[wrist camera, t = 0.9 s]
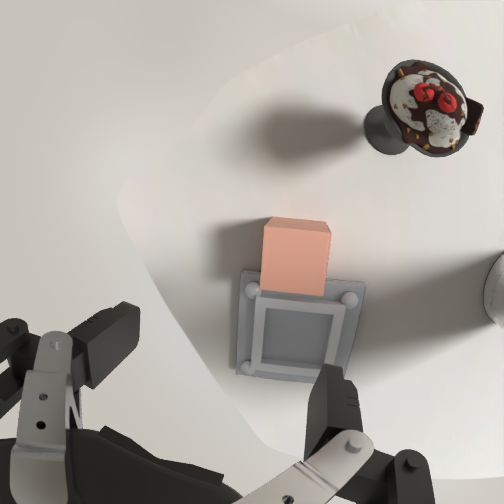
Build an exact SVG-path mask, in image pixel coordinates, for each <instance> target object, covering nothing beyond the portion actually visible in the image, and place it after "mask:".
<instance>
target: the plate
mask: <svg viewBox="0 0 504 504" xmlns="http://www.w3.org/2000/svg"><path fill="white" fill-rule="evenodd" d="M260 279H261V272H257V271H248V270H243V271H242V272H241V276H240V296H239V316H238V338H237V360H236V374H241V375H247V376H254V377H261V378H268V379H276V380H285V381H294V382H304V383H315V382H316V379H317V377H318V375H319V373H320V370H321V368H322V366H323V364H324V363H327V364H332V365H336V366H341V367H342V368H343V376H345V372H346V368H347V365H348V361H349V357H350V354H351V350H352V346H353V342H354V338H355V333H356V329H357V325H358V320H359V316H360V311H361V306H362V302H363V297H364V291H365V285H364V283H363V282H355V281H345V280H334V279H326V280H325V287H324V293H323V296H316V295H307V294H297V293H288V292H278V291H270V290H261V289H260Z"/></svg>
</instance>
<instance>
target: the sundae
mask: <svg viewBox="0 0 504 504" xmlns="http://www.w3.org/2000/svg"><path fill="white" fill-rule="evenodd" d="M483 110H484V107H483V105H482V104H480V103H478V102H476V101H474V100H472V99H469V98H467V97H466V95H465V93H464V90H463V88H462V86H461V85H460V84H459V82H458V81H457V80H456V79H455V78H454V77H453V76H452V75H451V74H450V73H449V72H448V71H446V70H445V69H443V68H441V67H440V66H437V65H435V64H433V63H429V62H426V61H421V60H406V61H403V62H400V63H399V64H398V65H396V66H395V67H394V68H393V69H392V70H391V71H390V72H389V74H388V76H387V78H386V80H385V82H384V85H383V88H382V105H380V106H377V107H375V108H373V109H372V110H371V111H370V112H369V113H368V115H367V117H366V121H365V132H366V135H367V137H368V139H369V141H370V143H371V144H372V145H373V146H374V147H375V148H376V149H377V150H379V151H381V152H383V153H385V154H390V155H396V154H400V153H402V152H404V151H405V150H406V149H407V148H408V147H409V146H410V145H411V146H412V147H413V148H415V149H416V150H417V151H419V152H421V153H422V154H424V155H427V156H430V157H445V156H448V155H451V154H453V153H455V152H457V151H459V150H460V149H461V148H462V147H463V146H464V145H465V143H466V142H467V140H468V138H469V135H475V133H476V131H477V129H478V126H479V124H480V120H481V115H482V113H483Z"/></svg>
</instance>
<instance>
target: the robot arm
mask: <svg viewBox="0 0 504 504" xmlns="http://www.w3.org/2000/svg"><path fill="white" fill-rule="evenodd" d="M484 307H485V310H486V313H487V314H488V316H489V317H490V318H491V319H492V320H493V321H494V322H495V323H497V324H498V325H499V326H500V327H501V328H502V329H503V330H504V254H503V255H501V256H500V257H499V259H498V260H497V261H496V262H495V264H494V265H493V267H492V269H491V271H490V273H489V275H488V278H487V281H486V284H485V289H484ZM139 331H140V308H139V307H137V306H135V305H132V304H130V303H127V302H125V301H123V302H121V303H120V304H118V305H117V306H115V307H114V308H108V309H104V310H101V311H99V312H98V313H96V314H94V315H93V317H90V318H89V319H87V321H84V322H83V323H81V324H80V325H78V326H77V327H75V328H74V329H72V330H71V331H69V332H68V333H64V332H61V331H51V332H48V333H46V334H44V335H43V336H42V337H40V336H37V335H34V334H31V333H29V330H28V325H27V323H26V322H25V321H24V320H21V319H18V318H12V319H7V320H5V321H3V322H2V323H0V363H2V362H3V361H4V360H6V359H7V360H8V363H9V366H10V367H9V368H7V369H6V370H5V371H4V372H2V373H1V374H0V419H1V418H2V417H3V416H4V415H5V414H6V413H7V412H8V411H9V410H10V409H11V408H12V407H13V406H14V405H15V404H16V403H18V402H19V401H20V400H21V404H20V412H19V419H18V427H17V438H8V439H0V504H326V503H328V502H329V501H330V500H331V499H332V498H333V497H334V496H335V495H336V496H339V497H341V498H344V499H347V500H350V501H352V502H355V503H356V504H435V498H434V493H433V486H432V481H431V476H430V470H429V466H428V462H427V460H426V458H425V457H424V456H423V455H422V454H421V453H419V452H417V451H415V450H410V449H406V450H402V451H400V452H399V453H397V455H396V456H392V455H389V454H386V453H383V452H380V451H378V450H376V449H374V445H373V442H372V440H371V439H370V438H369V437H368V436H367V435H366V434H364V433H363V427H362V419H361V412H360V408H359V406H360V405H359V400H358V393H357V389H356V387H355V386H354V384H353V383H352V381H350V380H345V379H344V376H343V368H342V367H341V366H336V365H332V364H327V363H324V364H323V366H322V368H321V370H320V373H319V375H318V377H317V379H316V382H315V384H314V386H313V388H312V391H311V393H310V397H309V401H308V411H307V426H306V439H305V451H304V462H303V463H302V462H301V461H299V462H297V463H295V464H294V465H293V466H291V467H290V468H288V469H287V470H285V471H284V472H282V473H281V474H279V475H278V476H276V477H275V478H273V479H272V480H271V481H269V482H267V483H266V484H264V485H263V486H261V487H260V488H258V489H256V490H255V491H253V492H251V493H250V494H248V495H246V496H245V497H242V496H241V495H240V494H239V493H238V492H236V491H235V490H234V489H232V488H231V487H229V486H228V485H226V484H224V483H222V480H223V477H224V474H221V473H217V472H214V471H211V470H207V469H204V468H201V467H198V466H195V465H193V464H186V463H179V462H174V461H169V460H163V459H159V458H157V457H155V456H153V455H152V454H151V453H149V452H148V451H146V450H145V449H143V448H142V447H141V446H140V445H138V444H137V443H136V442H134V441H133V440H132V439H130V438H128V437H126V436H124V435H122V434H120V433H118V432H116V431H115V430H113V429H111V428H109V427H107V426H104V427H103V428H102V429H101V430H100V432H99V431H95V430H89V429H83V426H82V409H81V389H80V388H81V387H82V386H83V385H86V386H88V387H89V388H91V389H95V388H96V386H97V385H99V383H101V382H102V381H103V379H105V378H106V377H107V376H108V375H109V374H110V373H111V372H112V371H113V370H114V369H115V368H116V367H117V366H118V365H119V364H120V363H121V362H122V361H123V360H124V359H125V358H126V357H127V356H128V355H129V354H130V353H131V352H132V351H133V350H134V349H135V348H136V346H137V344H138V341H139Z"/></svg>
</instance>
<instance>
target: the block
mask: <svg viewBox="0 0 504 504" xmlns="http://www.w3.org/2000/svg"><path fill="white" fill-rule="evenodd" d="M330 241H331V231H330V229H329V227H328V225H327V224H326V222H323V221H313V220H303V219H293V218H282V217H272V218H271V219H270V220H269V221H268V223H267V224H266V225H265V226H264V237H263V251H262V265H261V279H260V289H261V290H270V291H278V292H288V293H297V294H307V295H316V296H323V293H324V287H325V280H326V273H327V265H328V258H329V250H330Z"/></svg>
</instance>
